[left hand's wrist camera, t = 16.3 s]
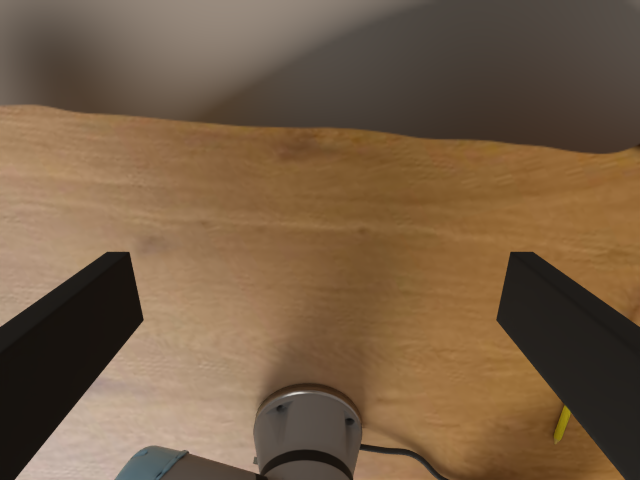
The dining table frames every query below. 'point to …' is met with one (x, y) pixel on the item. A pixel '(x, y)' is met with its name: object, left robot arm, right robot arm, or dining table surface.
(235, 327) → the dining table surface
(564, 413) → the pencil
